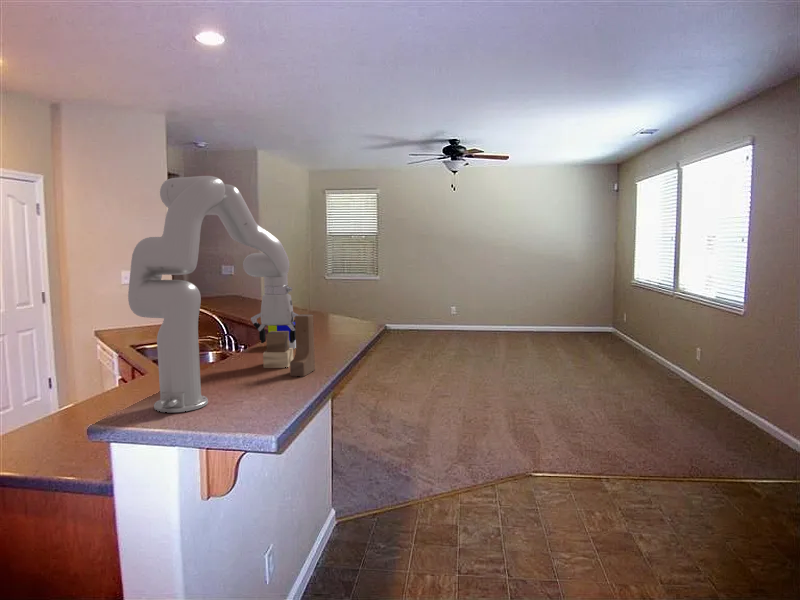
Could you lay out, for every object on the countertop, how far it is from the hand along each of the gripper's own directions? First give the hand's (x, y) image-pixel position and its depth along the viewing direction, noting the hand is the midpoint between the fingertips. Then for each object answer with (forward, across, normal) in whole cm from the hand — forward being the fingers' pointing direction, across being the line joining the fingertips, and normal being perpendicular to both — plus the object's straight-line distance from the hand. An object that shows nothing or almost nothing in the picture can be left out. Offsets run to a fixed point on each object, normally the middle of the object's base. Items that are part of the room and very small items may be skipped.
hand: (277, 342), depth 183 cm
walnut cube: (+3, 0, 0) cm, 3 cm away
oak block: (+8, 0, 0) cm, 8 cm away
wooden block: (+8, -11, +12) cm, 18 cm away
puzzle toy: (+8, +6, -33) cm, 35 cm away
